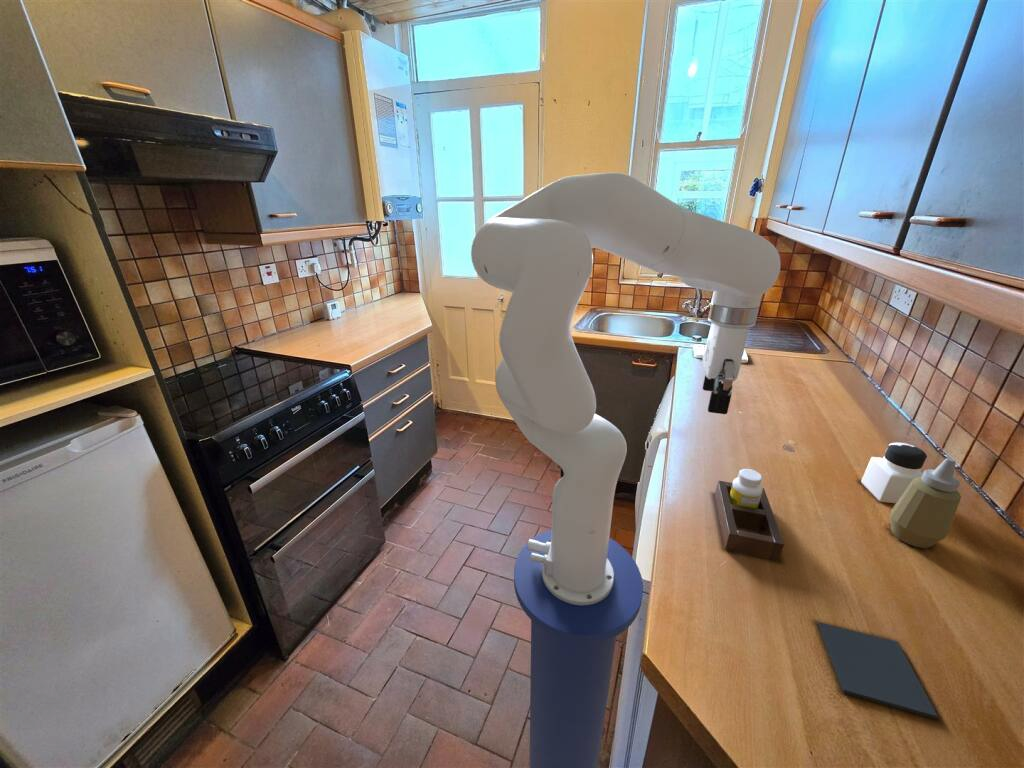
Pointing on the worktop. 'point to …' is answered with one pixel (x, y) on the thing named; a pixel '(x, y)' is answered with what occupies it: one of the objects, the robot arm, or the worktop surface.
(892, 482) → the medicine bottle
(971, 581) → the worktop surface
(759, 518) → the rack
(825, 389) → the worktop surface
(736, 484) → the supplement bottle
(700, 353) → the white flat block
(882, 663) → the mat
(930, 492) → the squeeze bottle
